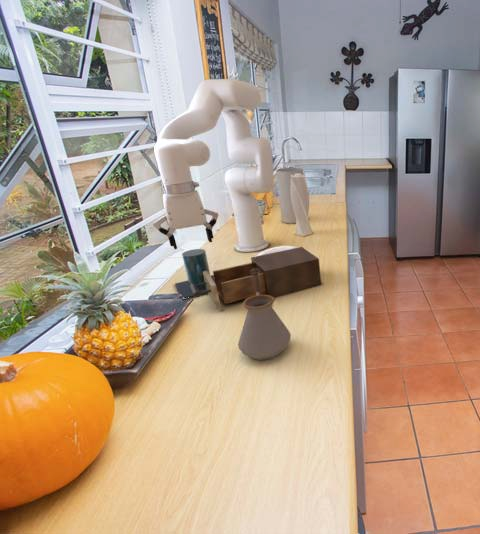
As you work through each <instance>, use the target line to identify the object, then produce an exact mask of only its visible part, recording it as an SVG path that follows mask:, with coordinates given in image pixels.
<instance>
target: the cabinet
mask: <svg viewBox="0 0 480 534" xmlns="http://www.w3.org/2000/svg"><path fill="white" fill-rule="evenodd" d="M255 256H256V255H255ZM255 256H252V257H250V260H251V262H250V263H253V262H254V263H255V264H256V265H257V267H258V268H259V269H260V270H261V271H262V272H263V273H264V276H265V282H266V289H267V293H265V294H264V295H270V296H272V297H274V298H276V297H280V296H284V295H289V294H291V293H294V292H298V291H302V290H305V289H310V288H312V287H317V286H320V285H322V278H321V277H322V276H321V269H320V268H321V267H320V258H319V257H317V256H315V255H314V254H313V253H311V252H310V251H308V250H307V249H306V248H304V247H303V246H299V247H298V248H294V249H289V250H284V251H280V252H275V253H270V254H265V255H261V256H256V257H255Z"/></svg>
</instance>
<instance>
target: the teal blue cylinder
mask: <svg viewBox="0 0 480 534" xmlns="http://www.w3.org/2000/svg"><path fill="white" fill-rule="evenodd" d="M181 256H182V257H181V258H182V261H183V265H184V269H185V272H186V277H187V281H189V286H190V284H192V283H195V284H200V283H204V282H205V280H204V276H203V271H207V272H208V273H209V275H210V276H211V271H210V266H209V261H208V257H207V252H206V250H205V249H204V248H195V249H189V250H186V251H184V252H182V253H181ZM197 288H198V289H204V288H206V285H202V286H198V287H197Z"/></svg>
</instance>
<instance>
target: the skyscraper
mask: <svg viewBox="0 0 480 534" xmlns="http://www.w3.org/2000/svg"><path fill="white" fill-rule="evenodd" d="M308 187H309V186H308V184H307V180H306V176H305V170H304V169H303V175H301V174H300V173H297V174H294V175H292V174H291V201H292V206H293V210H294V213H295V216H296V223H295V235H297V236H302V237H306V236H309V235H312V234H314V233H313V232H314V231H313V229H312V227H311V223H310V220H309V219H310V218H309V212H310V195H309V194H310V193H309V192H310V191H309V188H308Z"/></svg>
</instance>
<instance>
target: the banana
mask: <svg viewBox="0 0 480 534" xmlns="http://www.w3.org/2000/svg"><path fill="white" fill-rule="evenodd" d="M294 248H299V247H298V246H294V245H279V246H273V247H271V248H266V249H264V250H263V251H262V250H261V251H260V252H259V253H257V254H256V255H255V256H254V257H256V256H261V255H265V254H270V253H275V252H280V251H284V250H289V249H294Z"/></svg>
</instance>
